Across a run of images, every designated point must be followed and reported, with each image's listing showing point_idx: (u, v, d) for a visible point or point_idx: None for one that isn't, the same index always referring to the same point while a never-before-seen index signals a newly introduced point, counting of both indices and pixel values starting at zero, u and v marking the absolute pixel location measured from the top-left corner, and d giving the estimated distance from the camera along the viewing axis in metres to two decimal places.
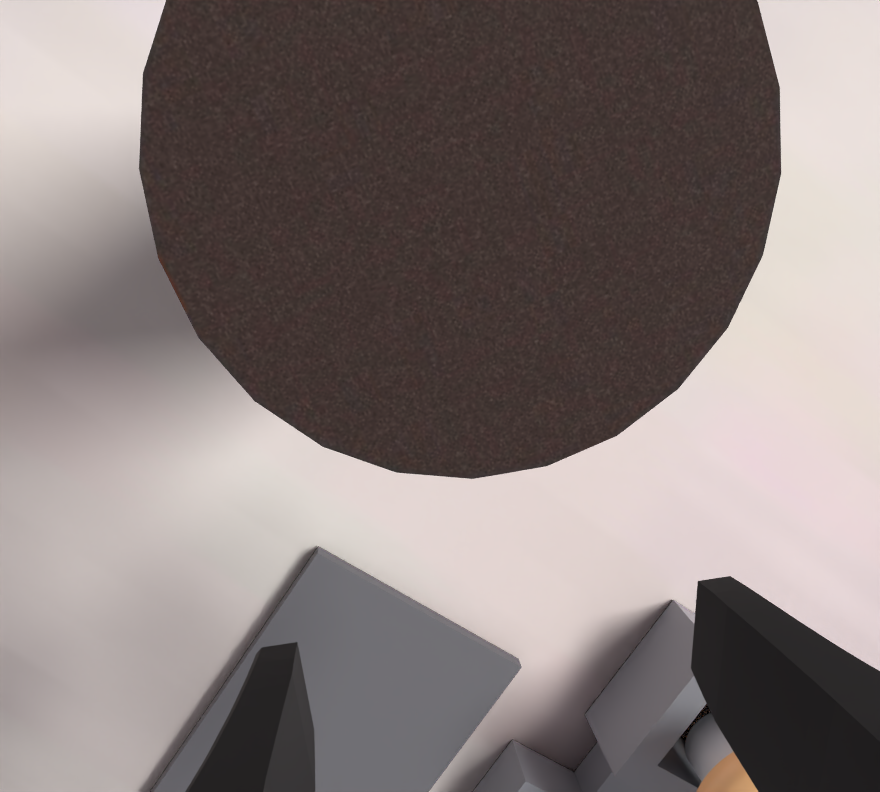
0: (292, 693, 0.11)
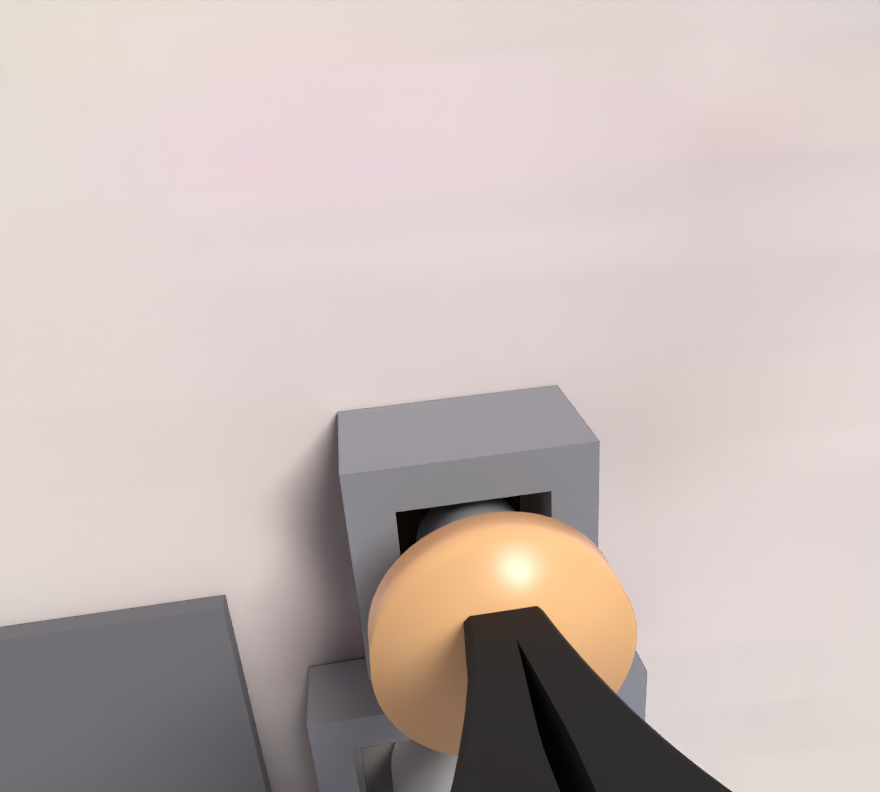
0: None
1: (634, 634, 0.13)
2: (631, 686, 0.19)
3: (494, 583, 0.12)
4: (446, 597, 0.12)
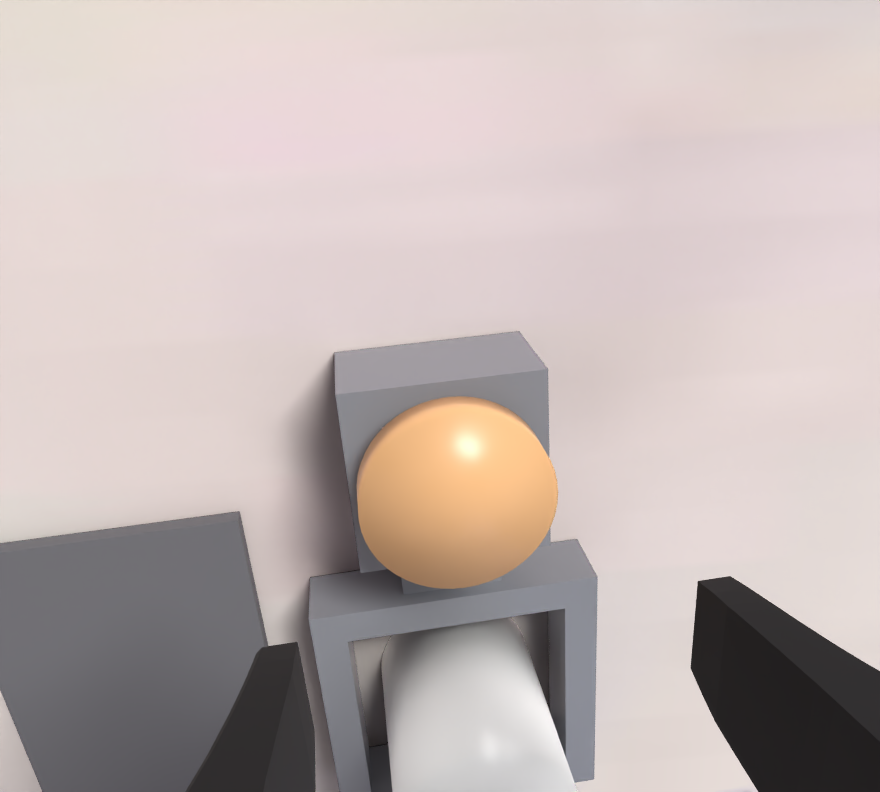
0: (292, 693, 0.11)
1: (555, 489, 0.18)
2: (584, 590, 0.22)
3: (449, 444, 0.17)
4: (413, 454, 0.17)
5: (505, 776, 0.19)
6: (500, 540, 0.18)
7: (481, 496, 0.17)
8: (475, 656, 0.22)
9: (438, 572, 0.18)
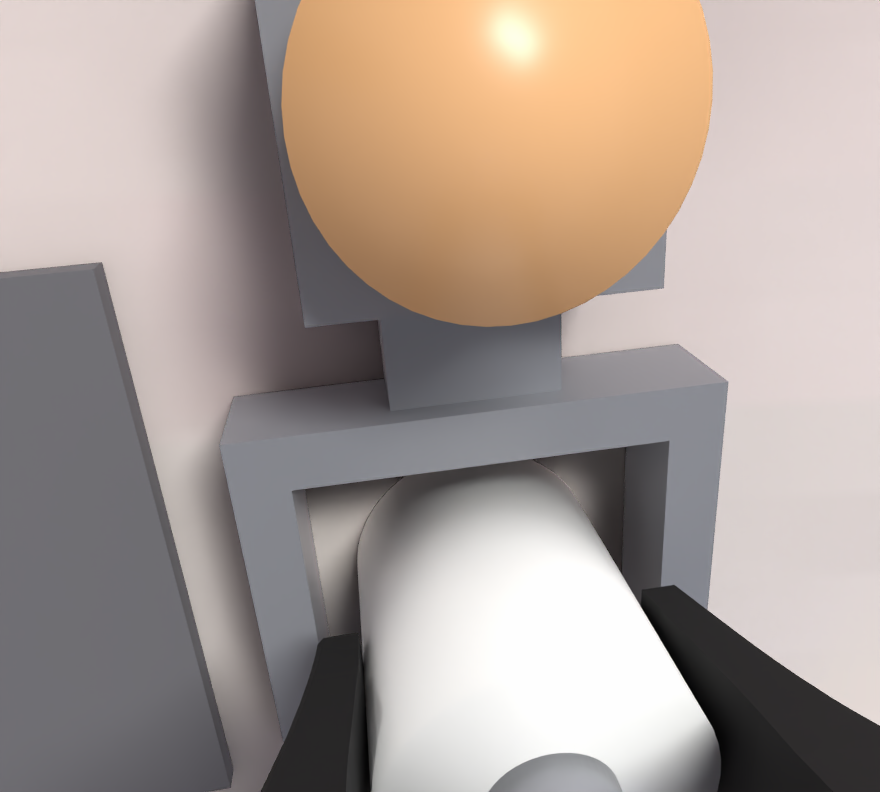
0: (359, 682, 0.11)
1: (708, 91, 0.08)
2: (704, 406, 0.13)
3: None
4: None
5: (585, 716, 0.10)
6: (586, 213, 0.09)
7: (551, 97, 0.08)
8: (517, 519, 0.13)
9: (456, 285, 0.09)
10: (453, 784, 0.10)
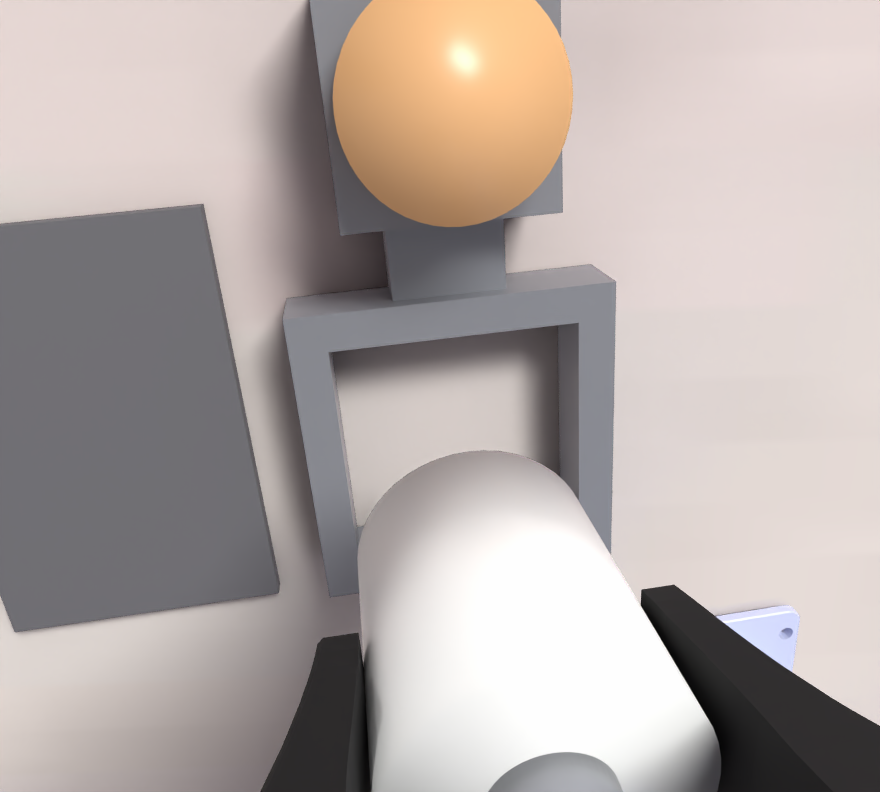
0: (359, 682, 0.11)
1: (570, 89, 0.15)
2: (601, 298, 0.19)
3: (441, 11, 0.14)
4: (399, 23, 0.14)
5: (586, 715, 0.10)
6: (504, 159, 0.15)
7: (481, 93, 0.15)
8: (517, 518, 0.13)
9: (430, 201, 0.15)
10: (452, 783, 0.10)
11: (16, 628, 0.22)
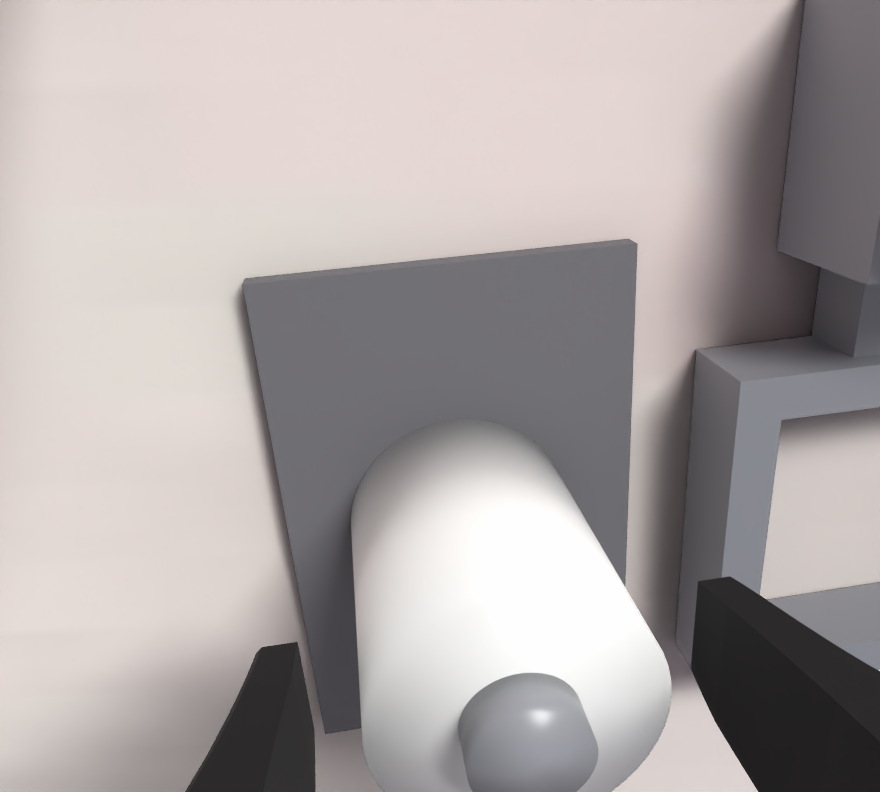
0: (292, 693, 0.11)
1: None
2: None
3: None
4: None
5: (549, 638, 0.11)
6: None
7: None
8: (494, 476, 0.14)
9: None
10: (432, 700, 0.11)
11: (328, 729, 0.19)
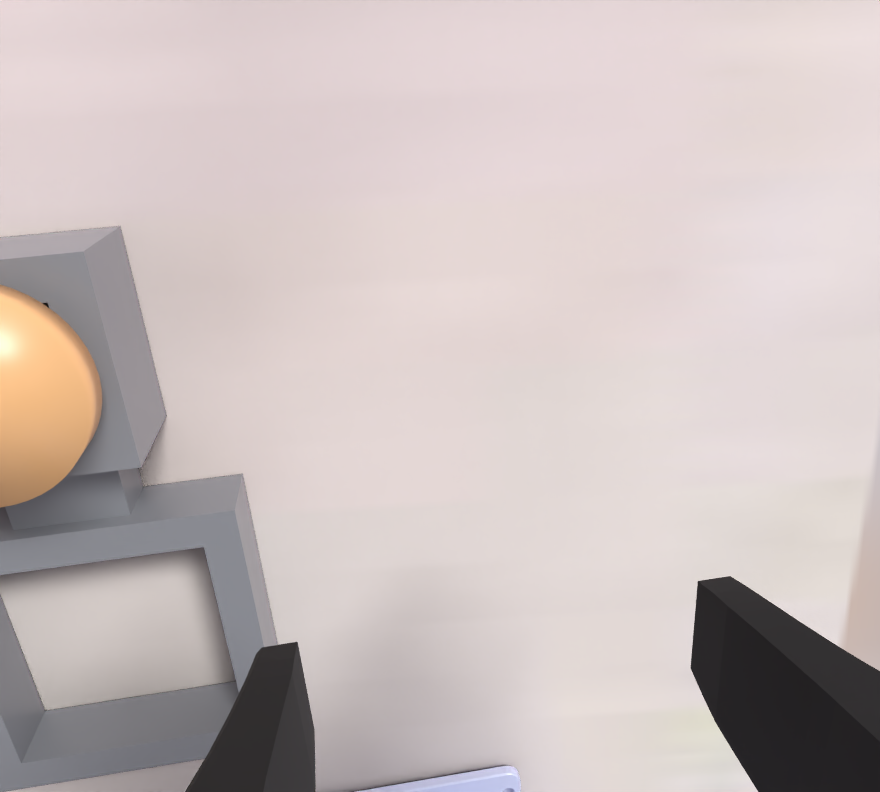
0: (292, 693, 0.11)
1: (81, 389, 0.15)
2: (222, 525, 0.20)
3: None
4: None
5: None
6: (27, 450, 0.15)
7: None
8: None
9: None
10: None
11: None
